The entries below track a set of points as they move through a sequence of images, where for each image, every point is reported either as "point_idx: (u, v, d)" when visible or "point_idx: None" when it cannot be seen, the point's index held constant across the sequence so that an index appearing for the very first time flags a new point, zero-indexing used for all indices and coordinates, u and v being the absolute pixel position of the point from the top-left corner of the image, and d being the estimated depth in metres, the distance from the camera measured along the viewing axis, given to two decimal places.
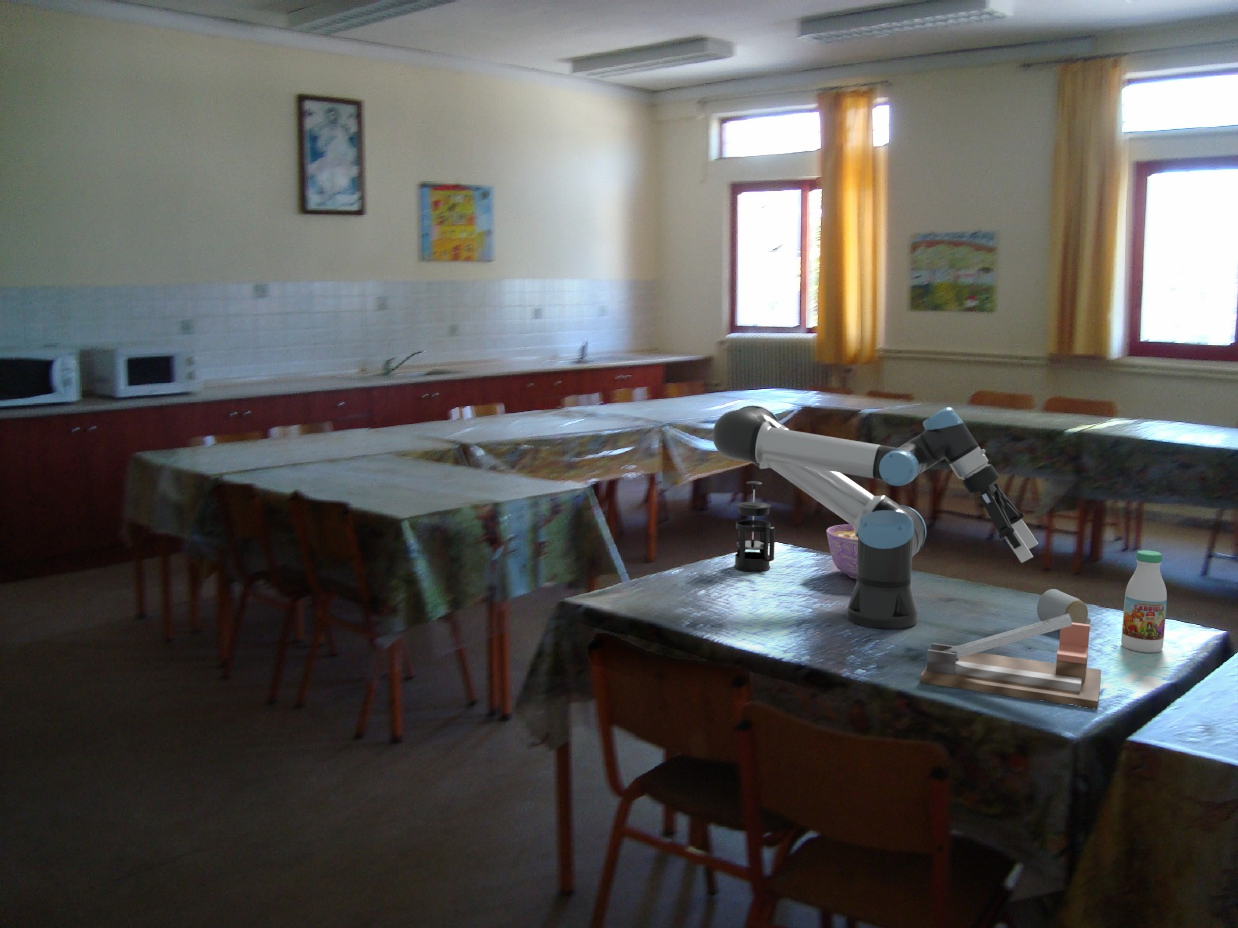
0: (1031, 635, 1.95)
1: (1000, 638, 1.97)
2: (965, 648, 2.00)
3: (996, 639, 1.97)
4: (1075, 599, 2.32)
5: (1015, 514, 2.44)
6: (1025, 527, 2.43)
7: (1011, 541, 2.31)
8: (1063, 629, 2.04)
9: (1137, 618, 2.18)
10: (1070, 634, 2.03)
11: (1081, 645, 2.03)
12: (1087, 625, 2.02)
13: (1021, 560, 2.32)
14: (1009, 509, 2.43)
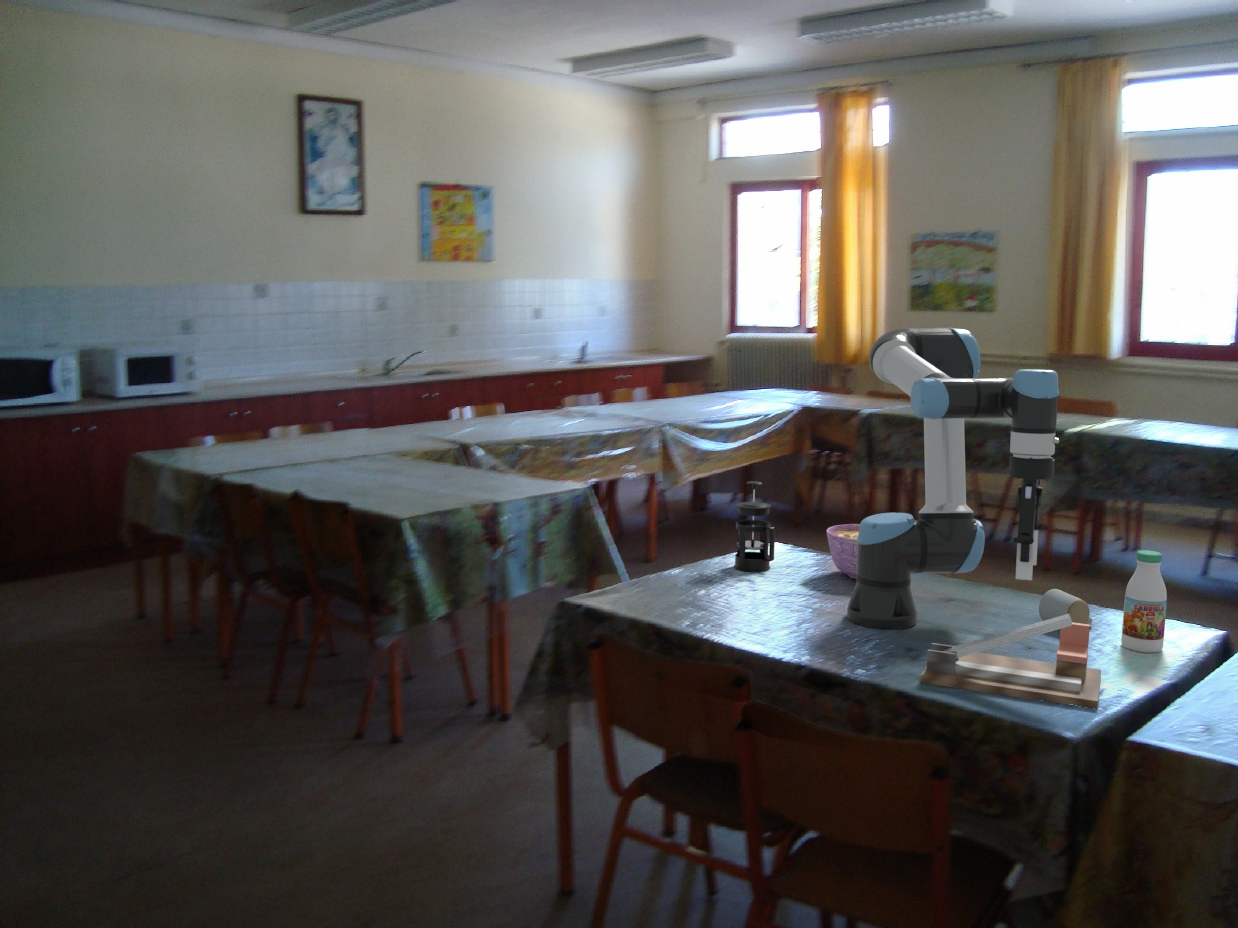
0: (1031, 635, 1.95)
1: (1000, 638, 1.97)
2: (965, 648, 2.00)
3: (996, 639, 1.97)
4: (1077, 599, 2.32)
5: (1035, 522, 2.02)
6: (1035, 541, 2.02)
7: (1022, 552, 1.89)
8: (1063, 629, 2.04)
9: (1137, 618, 2.18)
10: (1070, 634, 2.03)
11: (1081, 645, 2.03)
12: (1087, 625, 2.02)
13: (1017, 576, 1.91)
14: (1034, 514, 2.00)
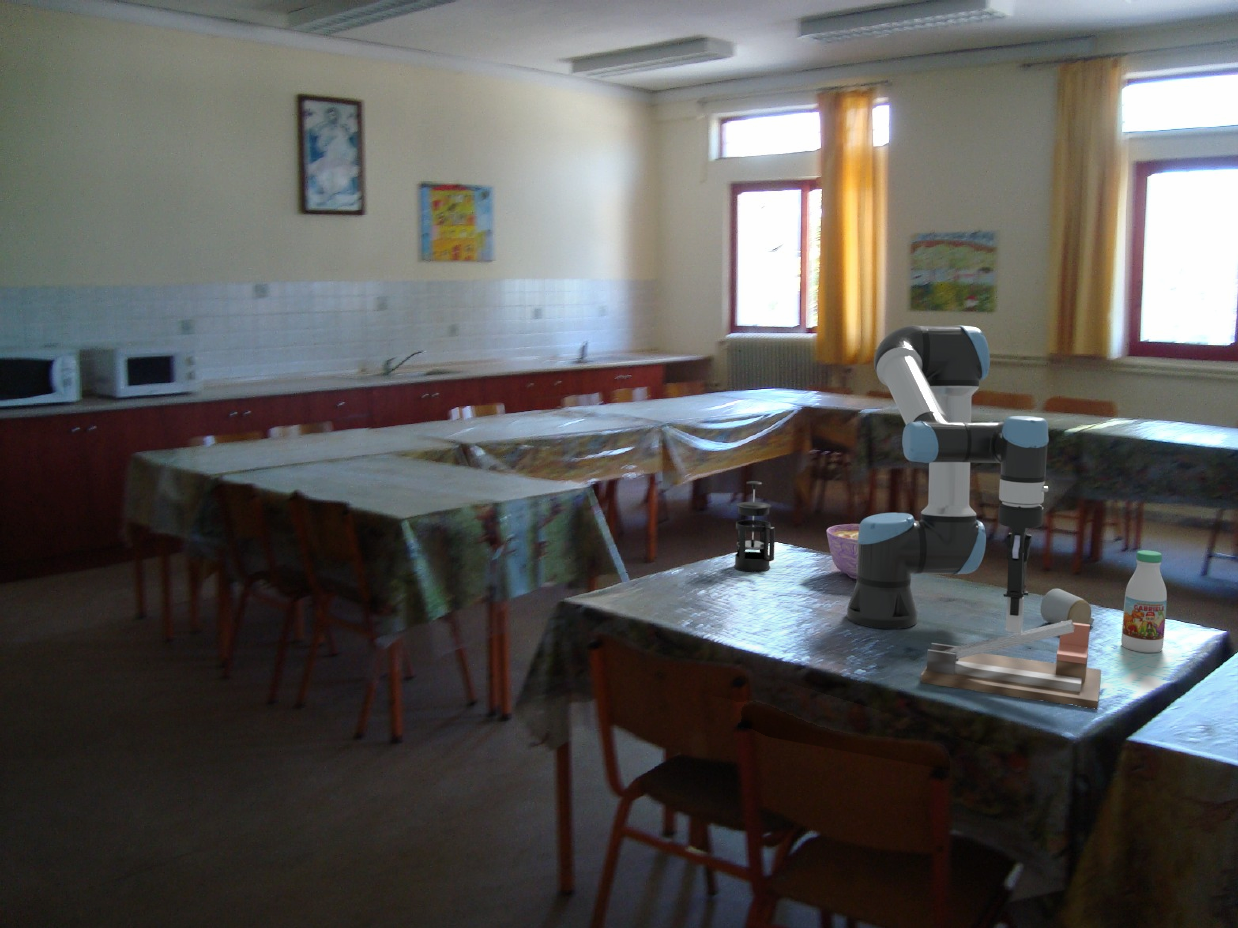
0: (1033, 639, 1.95)
1: (1002, 641, 1.97)
2: (966, 649, 2.00)
3: (997, 642, 1.97)
4: (1078, 598, 2.32)
5: (1022, 582, 1.96)
6: None
7: (1012, 606, 1.95)
8: None
9: (1137, 618, 2.18)
10: (1070, 634, 2.03)
11: (1081, 645, 2.03)
12: (1087, 625, 2.02)
13: (1007, 628, 1.97)
14: None
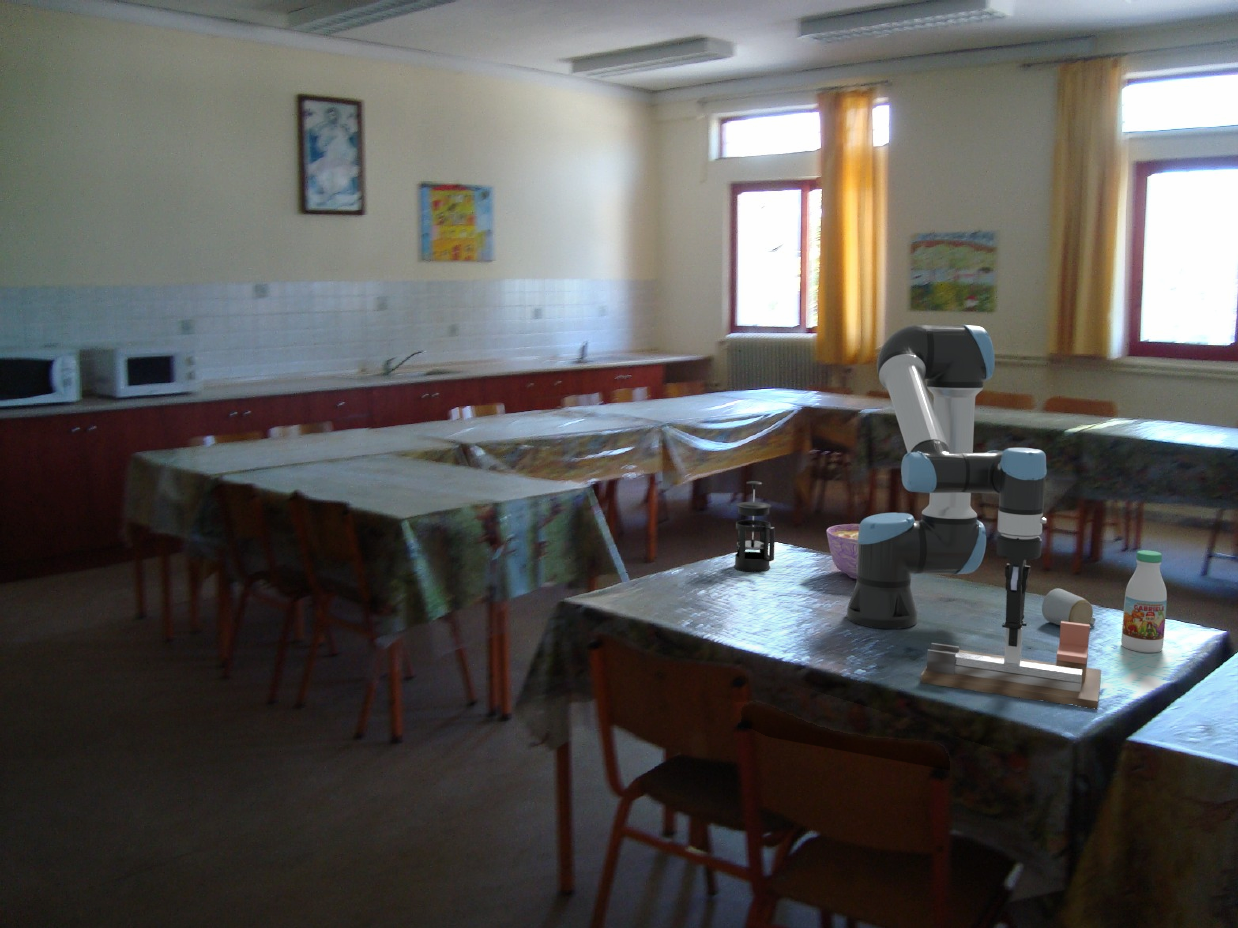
0: (1039, 675, 1.95)
1: (1008, 665, 1.97)
2: (970, 660, 2.00)
3: (1004, 664, 1.97)
4: (1080, 598, 2.32)
5: None
6: None
7: (1010, 636, 1.96)
8: (1063, 629, 2.04)
9: (1137, 618, 2.18)
10: (1070, 634, 2.03)
11: (1081, 645, 2.03)
12: (1087, 625, 2.02)
13: (1005, 659, 1.98)
14: None
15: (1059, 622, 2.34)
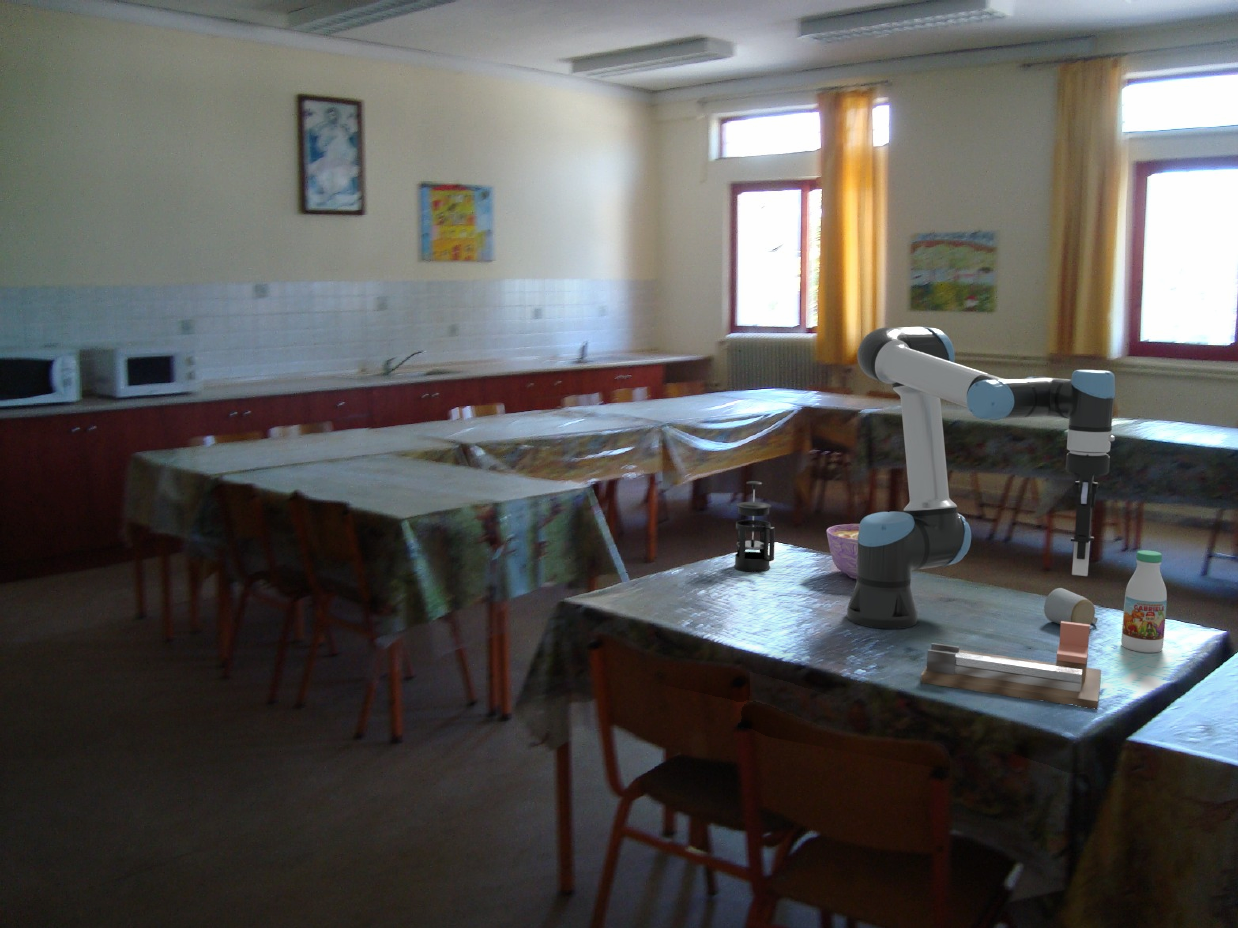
0: (1039, 675, 1.95)
1: (1008, 665, 1.97)
2: (970, 660, 2.00)
3: (1004, 664, 1.97)
4: (1082, 598, 2.32)
5: None
6: None
7: (1079, 550, 2.05)
8: (1063, 629, 2.04)
9: (1137, 618, 2.18)
10: (1070, 634, 2.03)
11: (1081, 645, 2.03)
12: (1087, 625, 2.02)
13: (1073, 572, 2.07)
14: None
15: None
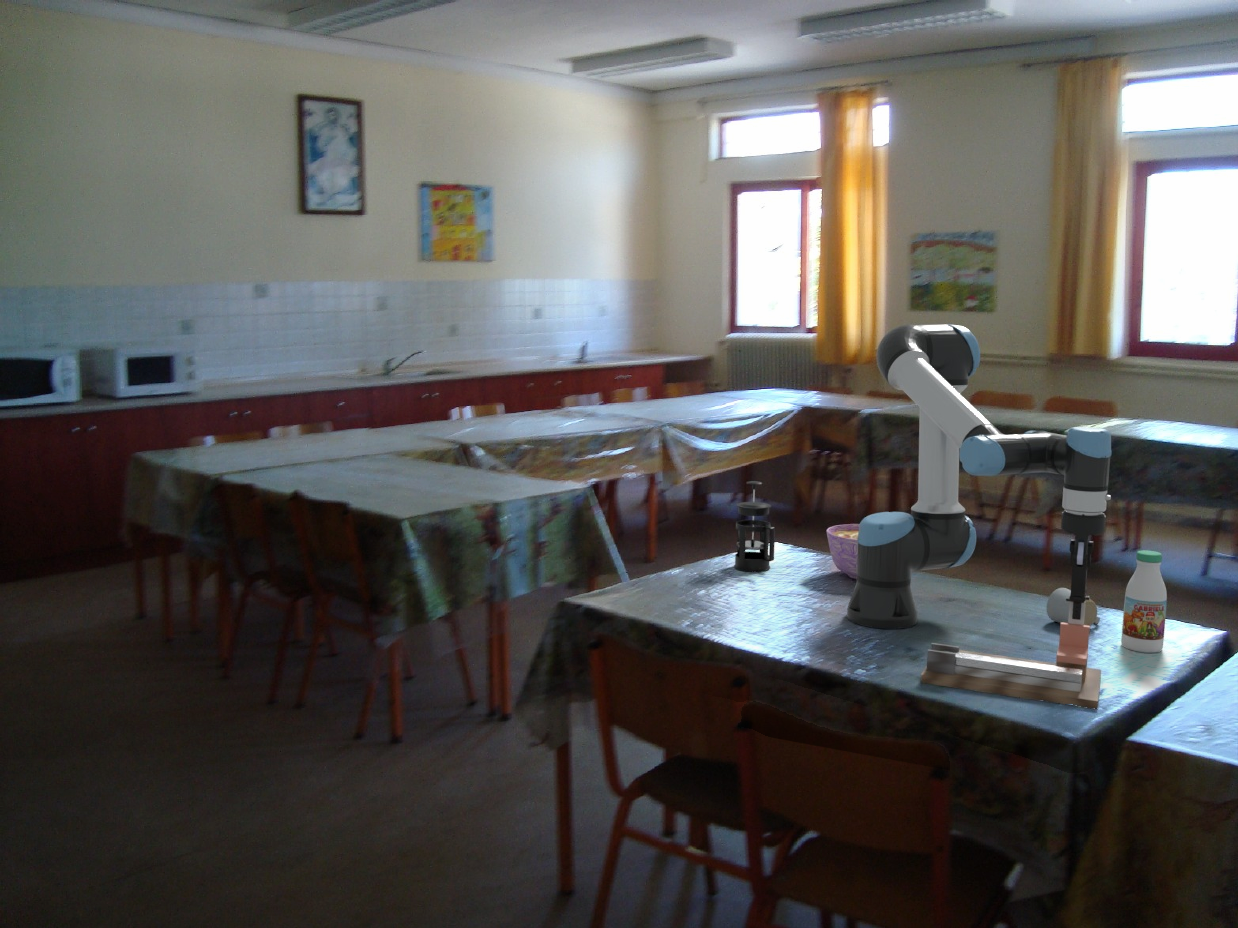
0: (1039, 675, 1.95)
1: (1008, 665, 1.97)
2: (970, 660, 2.00)
3: (1004, 664, 1.97)
4: None
5: None
6: None
7: (1074, 610, 2.02)
8: (1063, 630, 2.03)
9: (1137, 618, 2.18)
10: (1070, 635, 2.03)
11: (1081, 646, 2.02)
12: (1087, 626, 2.01)
13: None
14: None
15: (1064, 621, 2.35)
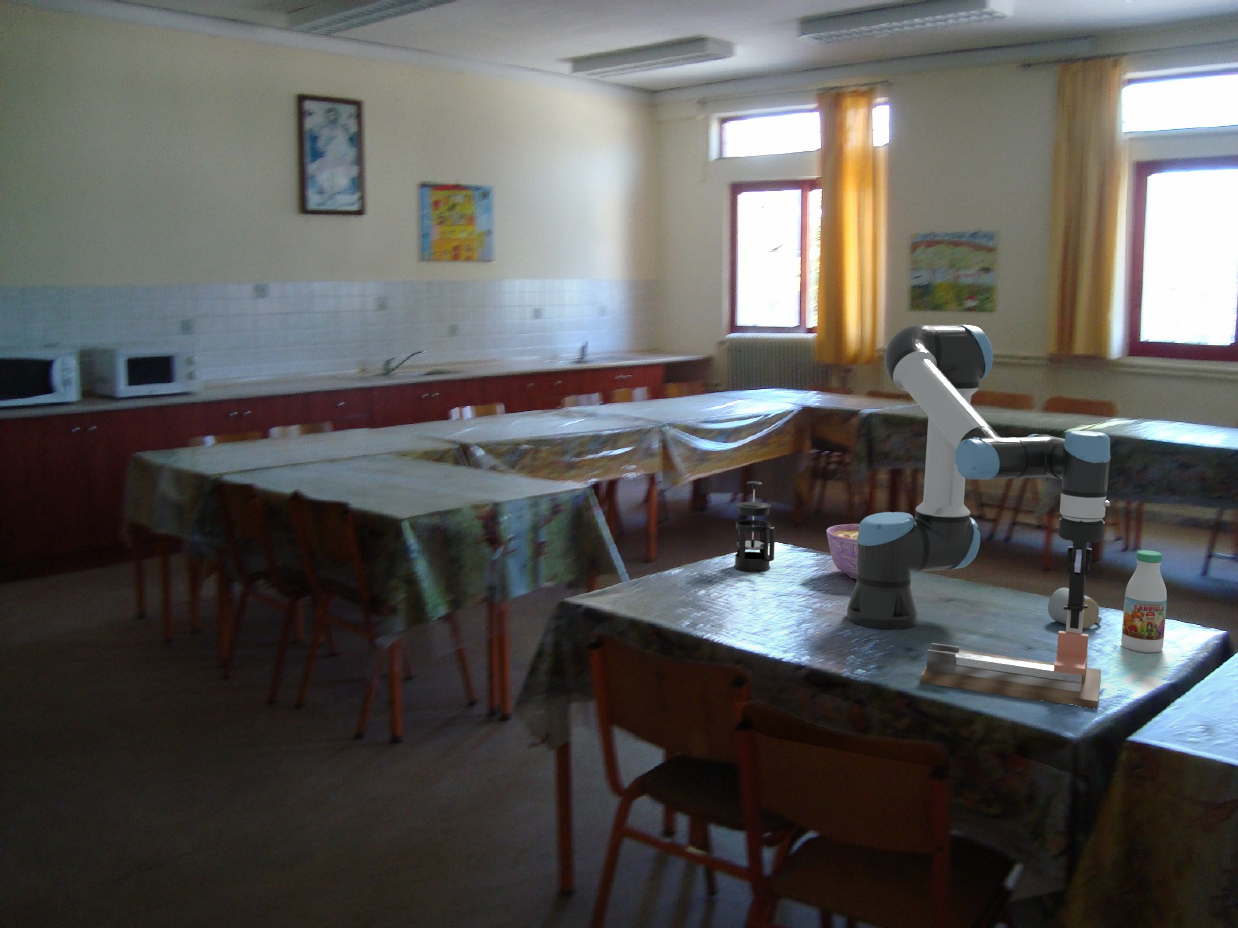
0: (1039, 675, 1.95)
1: (1008, 665, 1.97)
2: (970, 660, 2.00)
3: (1004, 664, 1.97)
4: (1086, 597, 2.33)
5: None
6: None
7: (1072, 619, 1.97)
8: (1061, 639, 1.98)
9: (1137, 618, 2.18)
10: (1068, 644, 1.97)
11: (1079, 655, 1.97)
12: (1085, 635, 1.96)
13: None
14: None
15: (1065, 621, 2.35)
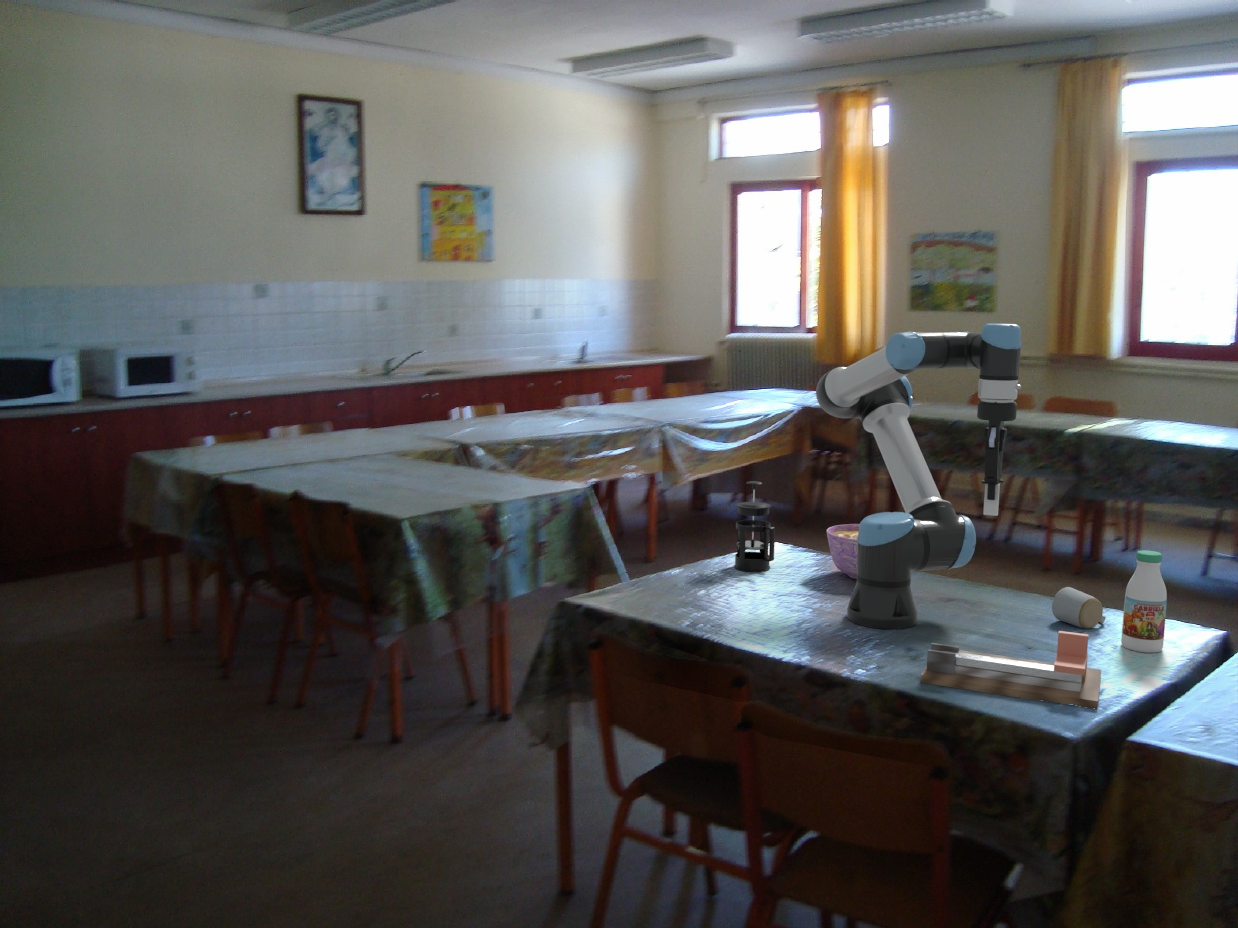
0: (1039, 675, 1.95)
1: (1008, 665, 1.97)
2: (970, 660, 2.00)
3: (1004, 664, 1.97)
4: (1090, 597, 2.33)
5: (998, 471, 2.22)
6: None
7: (989, 491, 2.21)
8: (1061, 639, 1.98)
9: (1137, 618, 2.18)
10: (1068, 644, 1.97)
11: (1079, 655, 1.97)
12: (1085, 635, 1.96)
13: (985, 512, 2.23)
14: None
15: (1069, 620, 2.35)
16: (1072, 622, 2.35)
